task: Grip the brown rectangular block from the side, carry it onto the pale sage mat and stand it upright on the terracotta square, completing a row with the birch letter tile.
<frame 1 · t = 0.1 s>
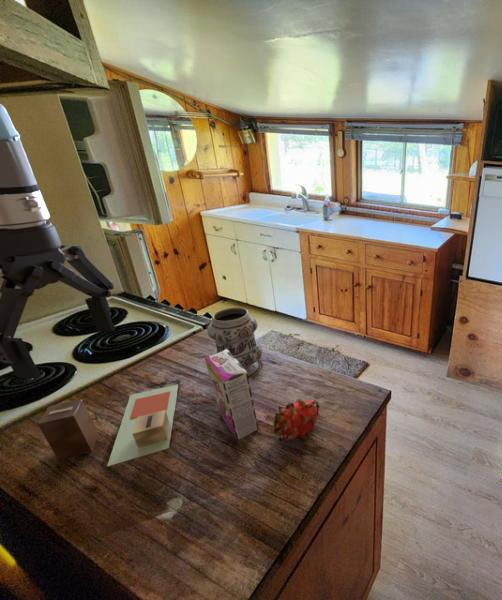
hand: (72, 351, 54), 25 cm above the counter, tool pointing down, fingers open, 13 cm apart
brown rectangular block: (80, 448, 66), on the counter
dragon fruit: (299, 430, 73), on the counter
apothecary jar: (242, 371, 91), on the counter
candy bar box: (238, 423, 74), on the counter
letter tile: (154, 435, 69), resting on word mat
word mat: (148, 420, 73), on the counter
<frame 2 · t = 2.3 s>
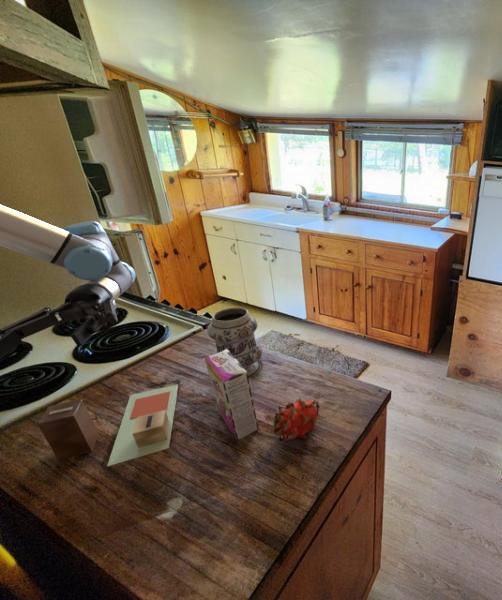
hand: (34, 348, 61), 21 cm above the counter, tool horizontal, fingers open, 13 cm apart
nothing on the counter moved.
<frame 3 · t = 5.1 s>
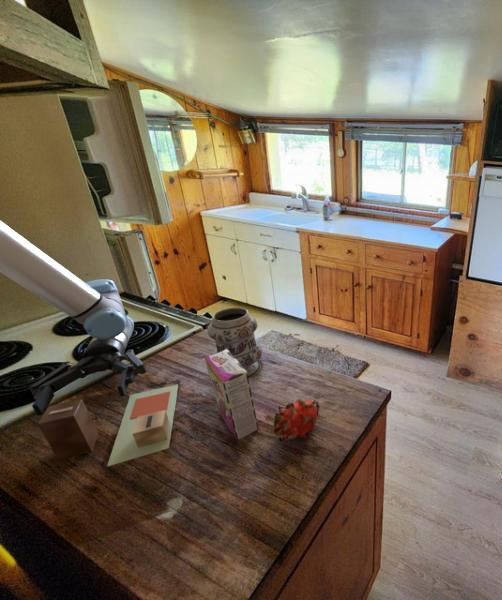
hand: (80, 400, 69), 7 cm above the counter, tool horizontal, fingers open, 13 cm apart
nothing on the counter moved.
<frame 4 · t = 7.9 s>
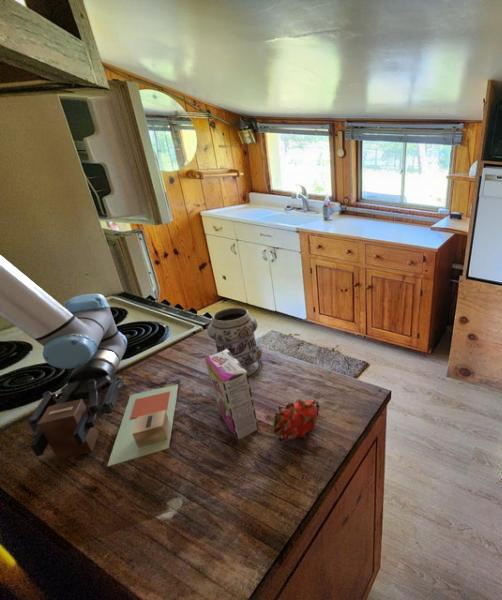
hand: (57, 444, 59), 6 cm above the counter, tool horizontal, fingers closed on brown rectangular block, 5 cm apart
brown rectangular block: (80, 448, 66), on the counter, touching gripper
everything else where it was.
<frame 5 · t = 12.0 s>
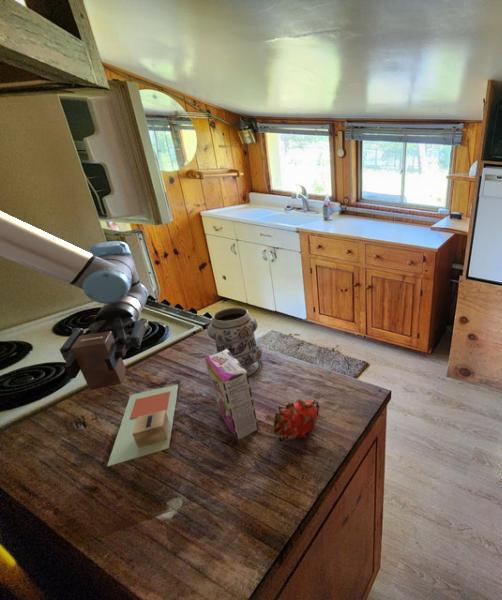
hand: (90, 368, 61), 18 cm above the counter, tool horizontal, fingers closed on brown rectangular block, 5 cm apart
brown rectangular block: (109, 379, 68), point 12 cm above the counter, touching gripper
everything else where it was.
when the fingers open (7 cm above the counter, at t = 16.0 s): brown rectangular block stays where it is, resting on word mat.
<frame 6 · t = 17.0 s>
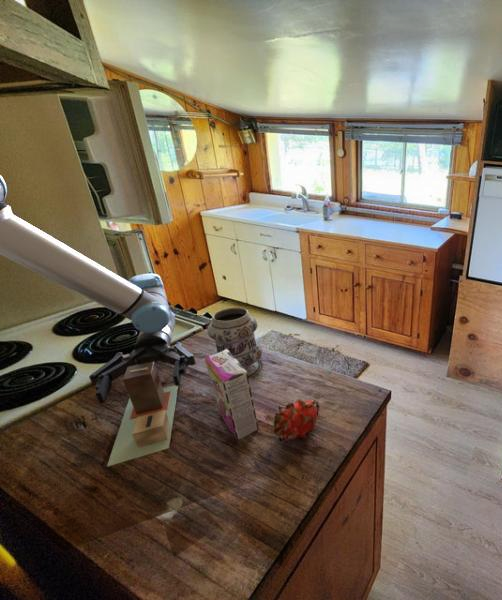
hand: (139, 389, 71), 8 cm above the counter, tool horizontal, fingers open, 13 cm apart
brown rectangular block: (151, 404, 77), point 1 cm above the counter, touching word mat
everything else where it was.
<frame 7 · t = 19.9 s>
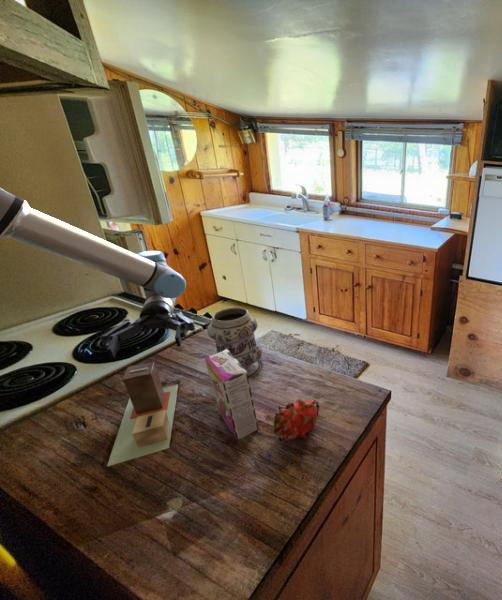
hand: (145, 347, 80), 11 cm above the counter, tool horizontal, fingers open, 13 cm apart
nothing on the counter moved.
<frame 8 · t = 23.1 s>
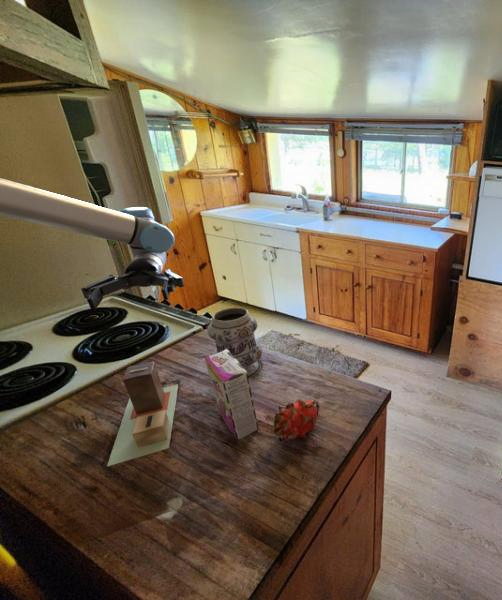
hand: (129, 299, 75), 24 cm above the counter, tool horizontal, fingers open, 13 cm apart
nothing on the counter moved.
at the end: brown rectangular block 0.0 cm from the target spot, point 0.6 cm above the counter; brown rectangular block tilted 0°; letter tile moved 0.0 cm from its start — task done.
